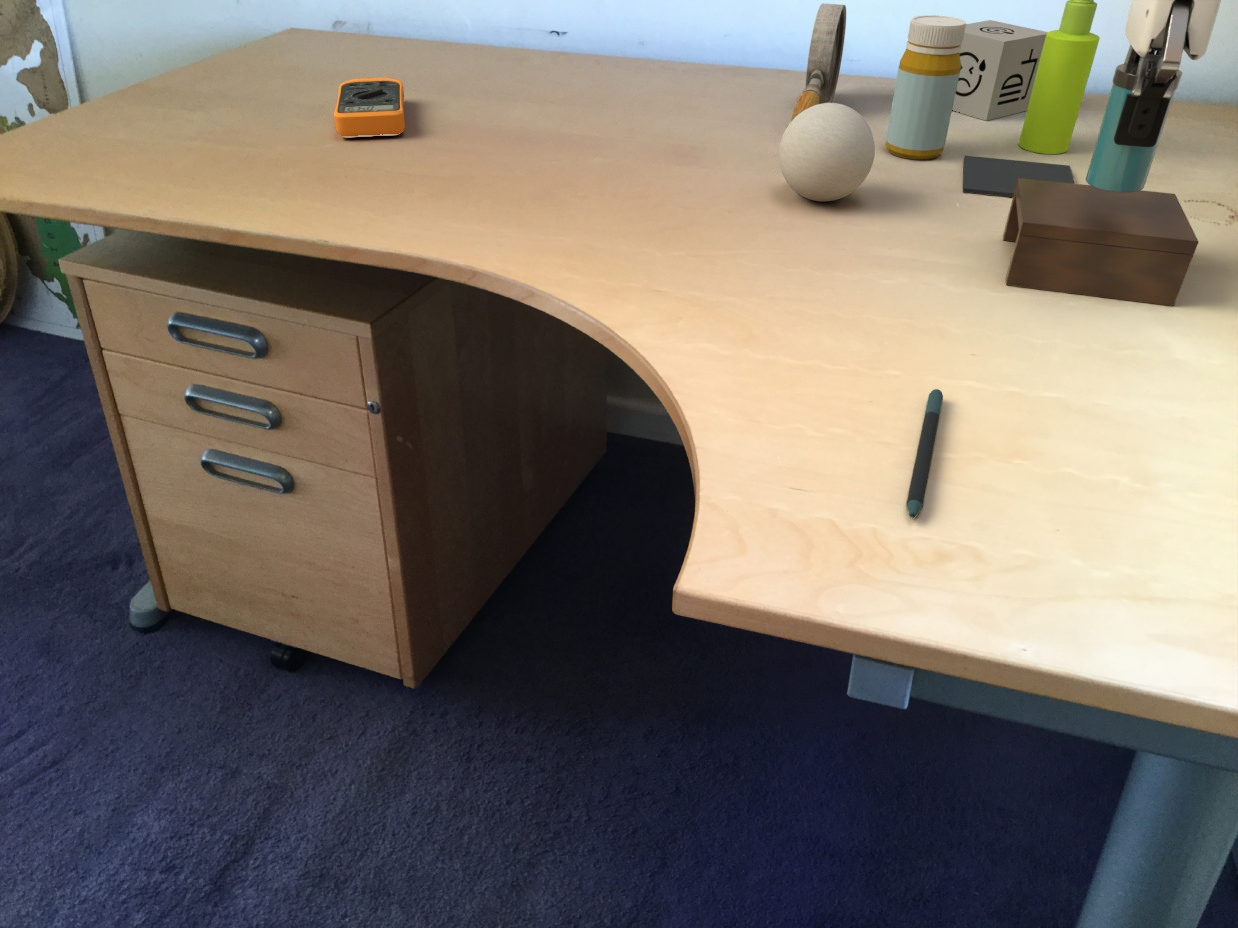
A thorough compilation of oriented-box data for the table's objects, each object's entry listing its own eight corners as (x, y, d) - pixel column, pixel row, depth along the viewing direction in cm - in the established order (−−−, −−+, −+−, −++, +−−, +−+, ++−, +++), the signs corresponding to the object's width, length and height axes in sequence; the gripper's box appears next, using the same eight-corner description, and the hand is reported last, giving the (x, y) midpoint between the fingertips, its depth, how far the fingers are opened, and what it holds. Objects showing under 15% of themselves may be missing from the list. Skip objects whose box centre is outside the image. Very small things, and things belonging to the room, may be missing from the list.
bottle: (873, 147, 118) (894, 17, 109) (918, 140, 120) (943, 13, 112) (907, 164, 113) (933, 29, 104) (954, 157, 115) (983, 24, 106)
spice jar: (1141, 176, 85) (1177, 64, 80) (1149, 195, 81) (1187, 79, 76) (1081, 171, 86) (1113, 61, 81) (1086, 190, 83) (1120, 75, 77)
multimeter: (405, 100, 134) (402, 75, 132) (406, 138, 120) (403, 110, 118) (343, 103, 132) (339, 77, 130) (337, 142, 118) (332, 114, 116)
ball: (764, 207, 101) (773, 111, 95) (785, 178, 108) (796, 88, 103) (857, 221, 98) (873, 123, 92) (873, 190, 106) (889, 97, 100)
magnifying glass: (814, 84, 114) (849, -13, 128) (789, 82, 115) (827, -14, 129) (807, 176, 124) (840, 77, 138) (784, 173, 125) (819, 75, 139)
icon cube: (1032, 109, 132) (1051, 33, 126) (986, 120, 128) (1004, 42, 122) (974, 93, 139) (990, 20, 133) (928, 103, 134) (943, 28, 129)
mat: (1068, 169, 112) (1069, 165, 111) (1077, 204, 102) (1078, 200, 102) (963, 159, 114) (964, 155, 114) (962, 192, 105) (963, 188, 105)
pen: (901, 524, 58) (904, 509, 57) (927, 398, 70) (930, 384, 69) (918, 528, 58) (922, 513, 57) (942, 401, 69) (945, 387, 69)
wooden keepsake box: (1153, 253, 92) (1175, 193, 88) (1173, 306, 82) (1199, 241, 79) (1002, 236, 95) (1017, 177, 91) (1005, 285, 86) (1022, 222, 82)
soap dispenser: (1061, 159, 115) (1112, -23, 103) (1009, 146, 119) (1053, -31, 107) (1084, 149, 118) (1137, -29, 106) (1033, 136, 122) (1078, -36, 110)
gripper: (1289, -98, 63) (1194, 171, 74) (1235, -119, 76) (1161, 111, 87) (1167, -100, 65) (1091, 162, 76) (1135, -121, 78) (1074, 105, 89)
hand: (1129, 133), depth 81 cm, fingers closed on spice jar, 4 cm apart
